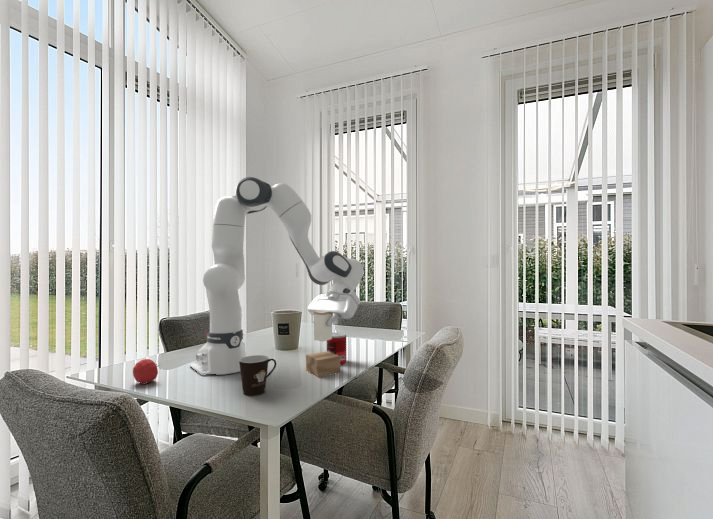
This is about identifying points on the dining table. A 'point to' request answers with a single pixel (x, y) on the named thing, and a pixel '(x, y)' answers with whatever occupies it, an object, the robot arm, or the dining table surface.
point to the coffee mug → (254, 374)
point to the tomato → (145, 371)
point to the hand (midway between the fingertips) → (321, 324)
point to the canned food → (338, 346)
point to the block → (323, 363)
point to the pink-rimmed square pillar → (322, 326)
